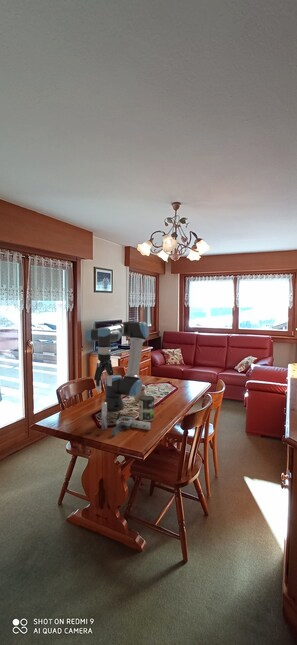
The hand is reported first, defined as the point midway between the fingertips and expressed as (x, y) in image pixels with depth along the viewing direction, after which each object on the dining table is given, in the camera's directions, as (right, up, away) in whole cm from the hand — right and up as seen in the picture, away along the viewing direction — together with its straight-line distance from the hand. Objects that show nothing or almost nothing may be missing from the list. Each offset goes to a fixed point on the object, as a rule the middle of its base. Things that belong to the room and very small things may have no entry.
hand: (104, 388), depth 186 cm
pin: (0, -25, +2) cm, 25 cm away
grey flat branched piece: (+16, -25, -1) cm, 30 cm away
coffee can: (+25, -24, +19) cm, 40 cm away
